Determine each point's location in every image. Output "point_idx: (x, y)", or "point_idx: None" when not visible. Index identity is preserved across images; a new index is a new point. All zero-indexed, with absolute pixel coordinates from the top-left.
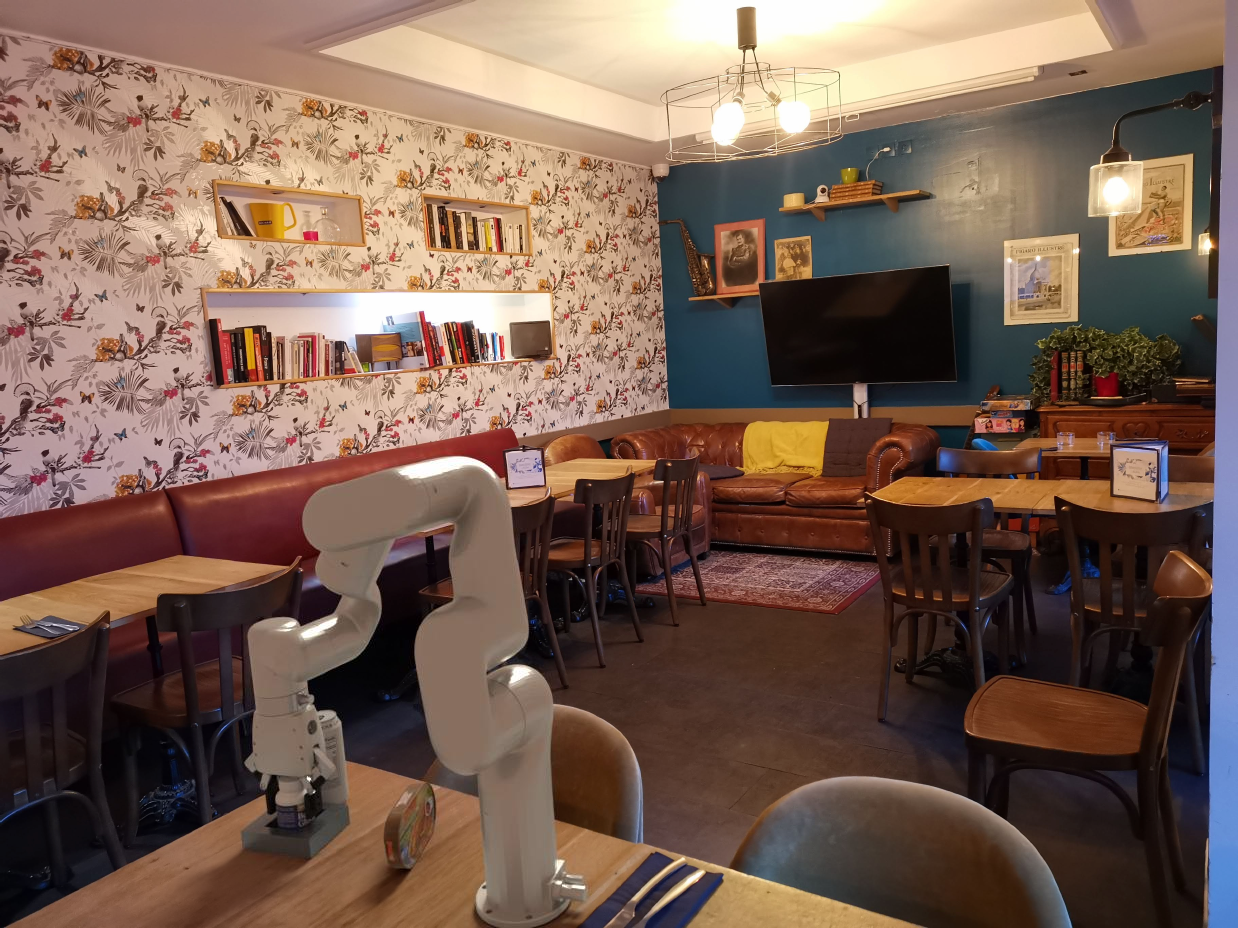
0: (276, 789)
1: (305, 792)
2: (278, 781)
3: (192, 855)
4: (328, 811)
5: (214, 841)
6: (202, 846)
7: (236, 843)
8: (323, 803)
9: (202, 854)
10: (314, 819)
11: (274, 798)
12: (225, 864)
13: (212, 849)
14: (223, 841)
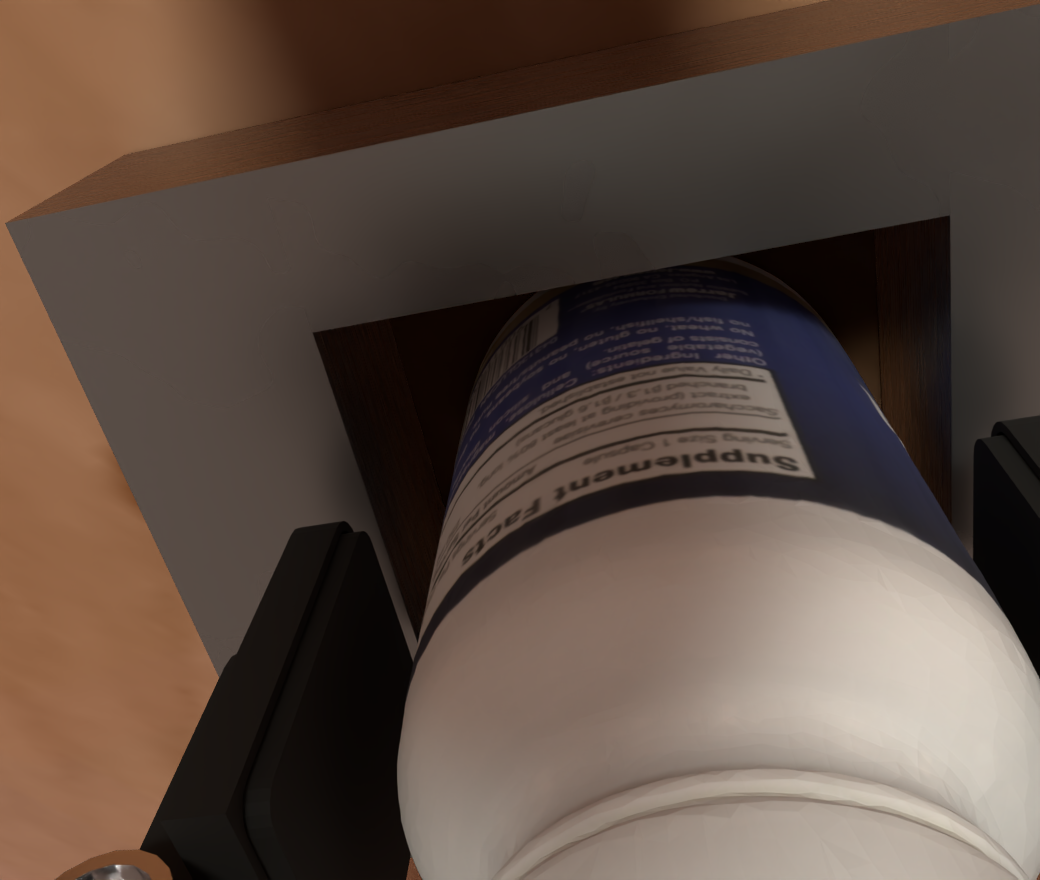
0: (332, 869)
1: (1035, 849)
2: (190, 831)
3: (71, 860)
4: (1032, 258)
5: (6, 711)
6: (3, 777)
7: (204, 677)
8: (774, 96)
9: (122, 835)
10: (956, 486)
11: (380, 815)
12: (412, 862)
13: (118, 780)
14: (72, 691)
